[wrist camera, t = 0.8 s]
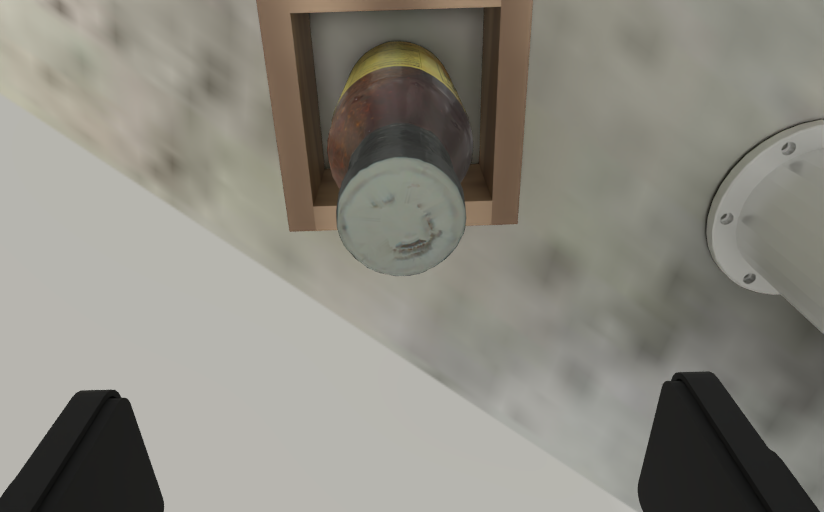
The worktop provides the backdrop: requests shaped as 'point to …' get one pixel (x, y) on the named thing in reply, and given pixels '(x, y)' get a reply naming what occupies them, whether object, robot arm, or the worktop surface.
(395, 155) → the sauce bottle
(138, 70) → the worktop surface
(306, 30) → the walnut sleeve
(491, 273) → the worktop surface
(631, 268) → the worktop surface
